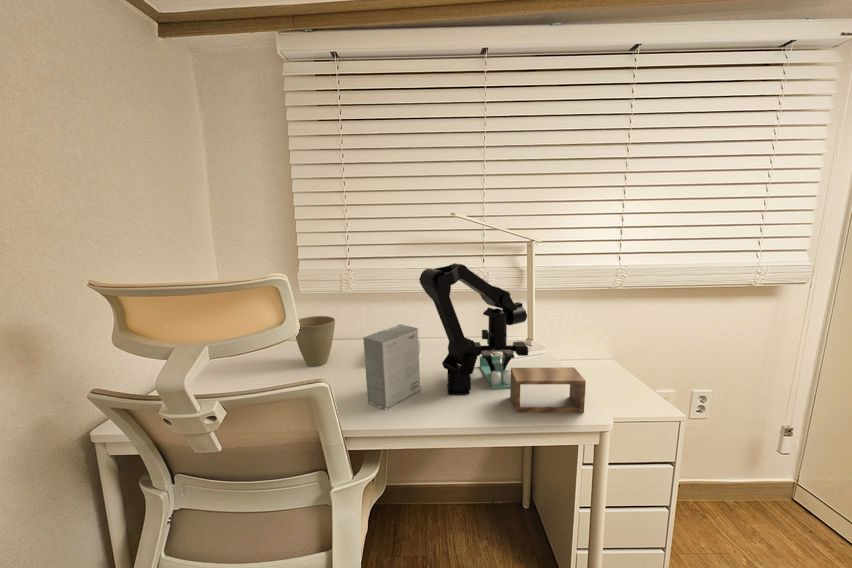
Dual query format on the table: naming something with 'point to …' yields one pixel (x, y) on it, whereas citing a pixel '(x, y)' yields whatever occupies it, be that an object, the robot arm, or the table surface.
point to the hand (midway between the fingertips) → (497, 373)
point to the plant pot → (315, 339)
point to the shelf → (548, 377)
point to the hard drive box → (392, 365)
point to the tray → (488, 372)
